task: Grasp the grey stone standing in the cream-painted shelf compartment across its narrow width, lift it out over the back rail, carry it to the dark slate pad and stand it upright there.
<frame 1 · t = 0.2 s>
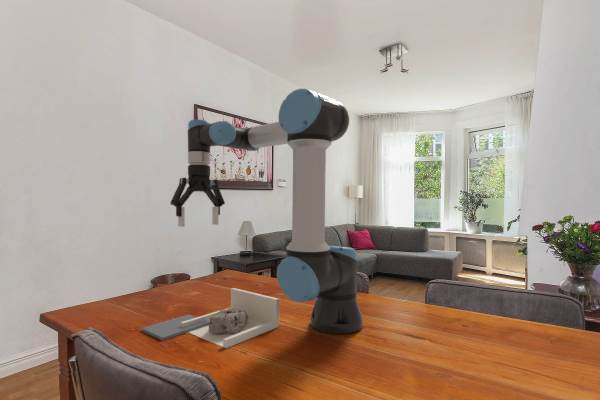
hand: (199, 225, 122), 28 cm above the table, fingers open, 13 cm apart
slate pad: (176, 327, 99), on the table
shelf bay: (228, 328, 99), on the table
stone: (228, 329, 99), resting on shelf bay
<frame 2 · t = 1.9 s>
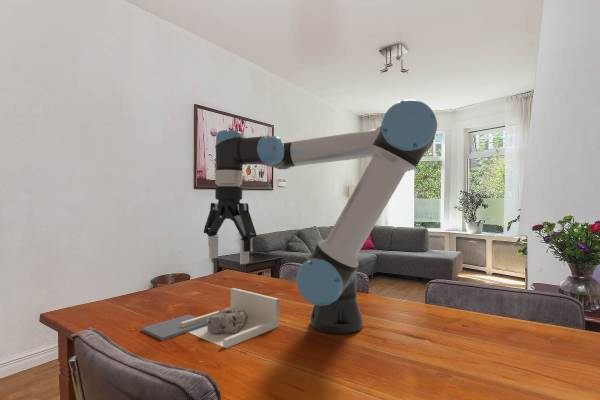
hand: (228, 260, 99), 19 cm above the table, fingers open, 13 cm apart
nothing on the table moved.
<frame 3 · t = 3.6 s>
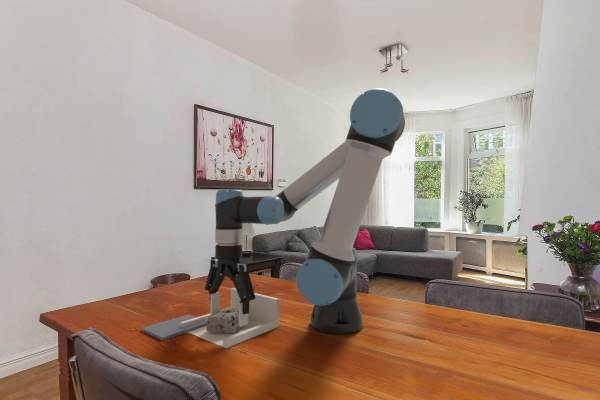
hand: (228, 320, 99), 2 cm above the table, fingers open, 12 cm apart
stone: (227, 328, 99), resting on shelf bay, touching gripper
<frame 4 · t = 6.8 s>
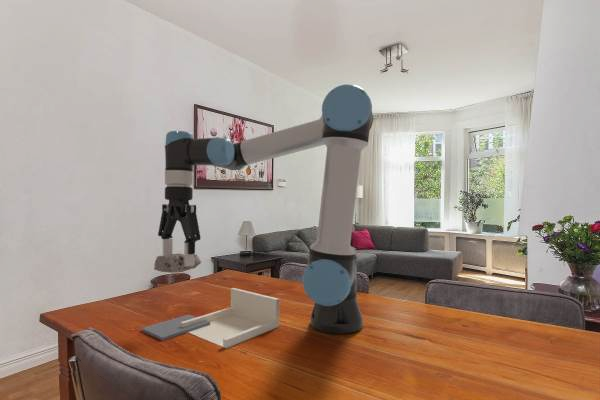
hand: (177, 263, 100), 18 cm above the table, fingers closed on stone, 11 cm apart
stone: (177, 270, 100), point 16 cm above the table, touching gripper
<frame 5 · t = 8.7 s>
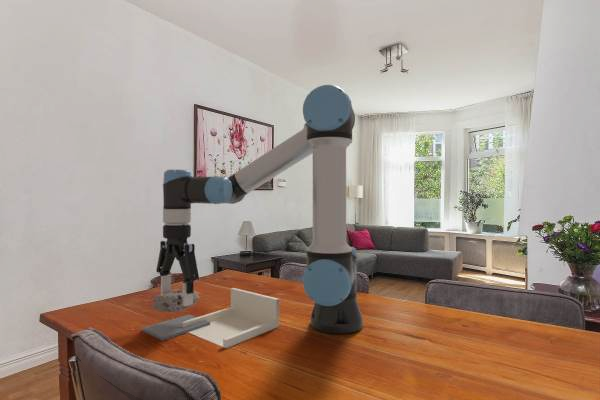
hand: (176, 301, 100), 8 cm above the table, fingers closed on stone, 11 cm apart
stone: (176, 308, 100), point 5 cm above the table, touching gripper
when the fingers open (4 cm above the table, at t = 10.0 s): stone stays where it is, resting on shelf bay, slate pad.
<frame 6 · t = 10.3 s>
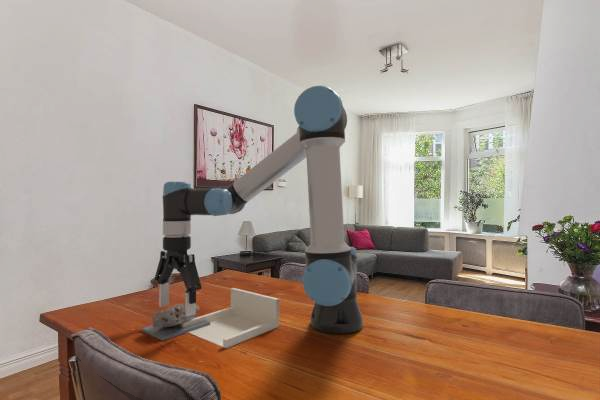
hand: (176, 310, 99), 5 cm above the table, fingers open, 13 cm apart
stone: (177, 322, 100), point 1 cm above the table, touching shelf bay, slate pad
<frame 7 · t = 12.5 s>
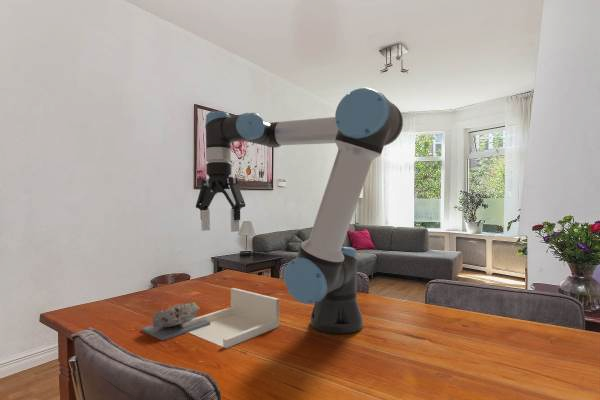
hand: (219, 231, 108), 27 cm above the table, fingers open, 13 cm apart
nothing on the table moved.
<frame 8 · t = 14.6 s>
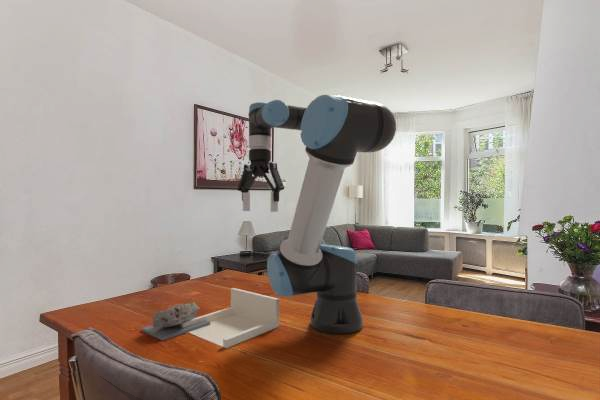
hand: (259, 211, 120), 33 cm above the table, fingers open, 13 cm apart
nothing on the table moved.
at the end: stone inside the target area on the slate pad (0.2 cm from its centre), point 1.4 cm above the slate pad's base; stone tilted 12°; the gripper is holding nothing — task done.
